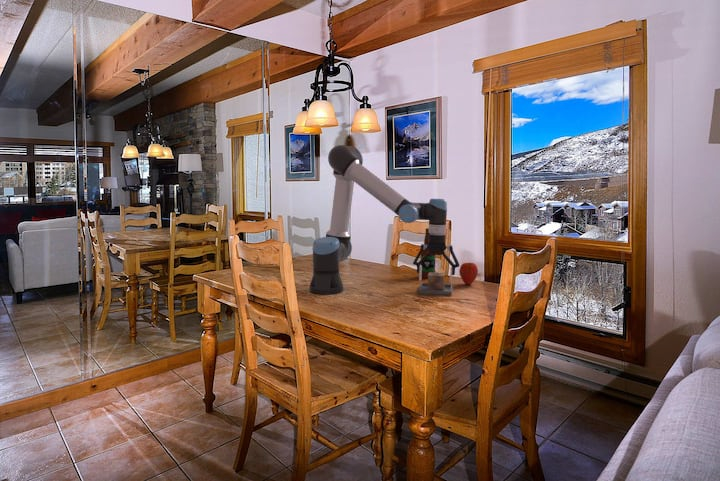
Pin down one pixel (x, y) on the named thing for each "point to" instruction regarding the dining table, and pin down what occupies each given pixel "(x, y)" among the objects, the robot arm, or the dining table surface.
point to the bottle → (427, 259)
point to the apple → (468, 272)
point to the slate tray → (424, 290)
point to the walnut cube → (436, 281)
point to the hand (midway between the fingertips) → (435, 281)
